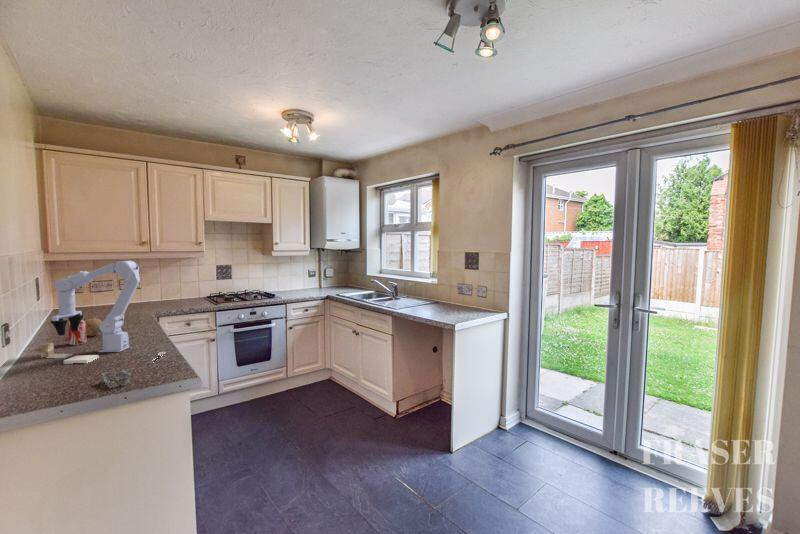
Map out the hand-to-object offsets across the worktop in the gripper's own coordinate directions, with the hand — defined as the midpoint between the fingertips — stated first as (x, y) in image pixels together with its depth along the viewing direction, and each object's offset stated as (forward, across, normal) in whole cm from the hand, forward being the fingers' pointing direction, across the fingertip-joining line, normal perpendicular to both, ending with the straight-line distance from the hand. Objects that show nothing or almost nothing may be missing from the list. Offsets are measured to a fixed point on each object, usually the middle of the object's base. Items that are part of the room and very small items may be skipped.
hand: (68, 332), depth 165 cm
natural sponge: (+10, -31, -10) cm, 34 cm away
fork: (+10, +17, +46) cm, 49 cm away
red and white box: (+10, -15, -7) cm, 19 cm away
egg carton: (+10, +40, +46) cm, 61 cm away
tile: (+9, +13, +10) cm, 19 cm away
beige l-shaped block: (+9, +6, -1) cm, 11 cm away
